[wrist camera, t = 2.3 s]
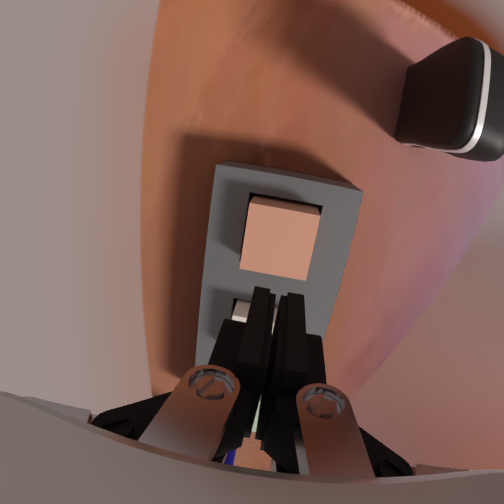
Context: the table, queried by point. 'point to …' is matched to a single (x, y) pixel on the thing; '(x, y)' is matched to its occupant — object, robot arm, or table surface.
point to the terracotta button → (279, 237)
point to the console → (243, 281)
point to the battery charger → (455, 102)
